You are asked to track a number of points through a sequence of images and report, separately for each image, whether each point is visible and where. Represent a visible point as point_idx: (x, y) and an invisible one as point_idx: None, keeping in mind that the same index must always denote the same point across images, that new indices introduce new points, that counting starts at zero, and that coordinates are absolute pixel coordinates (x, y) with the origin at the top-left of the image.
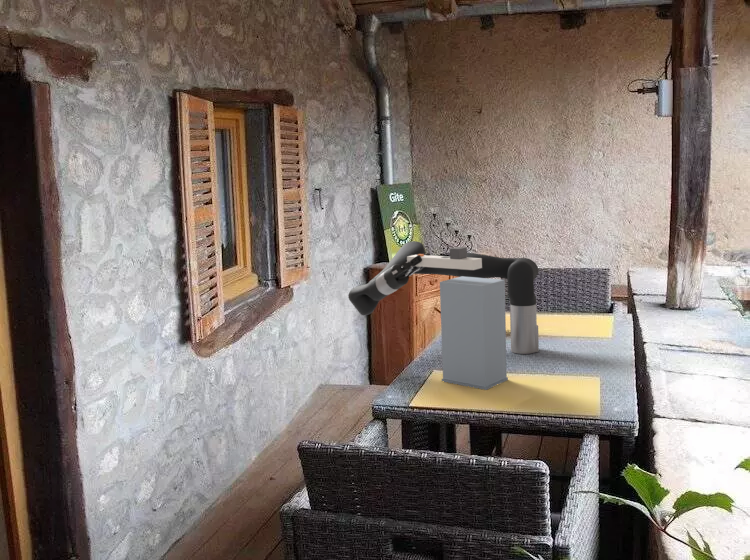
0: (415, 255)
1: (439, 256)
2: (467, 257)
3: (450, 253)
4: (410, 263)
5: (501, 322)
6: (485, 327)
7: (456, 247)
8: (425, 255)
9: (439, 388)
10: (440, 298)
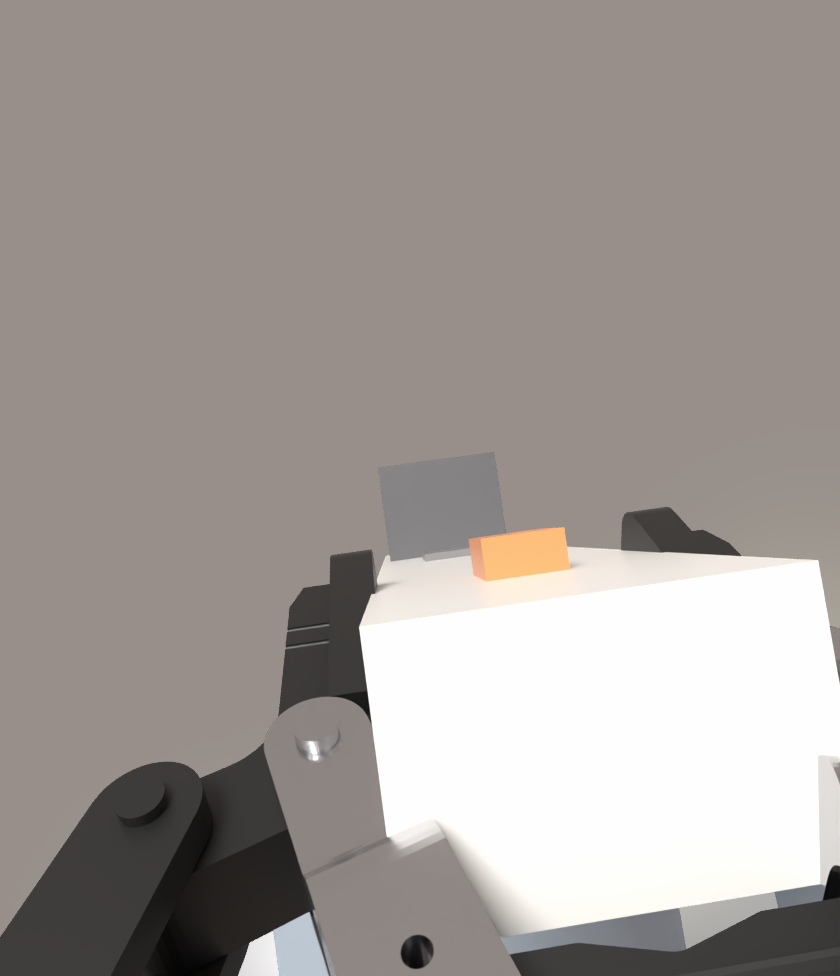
0: (500, 594)
1: (419, 566)
2: (385, 559)
3: (499, 495)
4: None
5: None
6: None
7: (409, 464)
8: (406, 586)
9: None
10: (682, 930)
